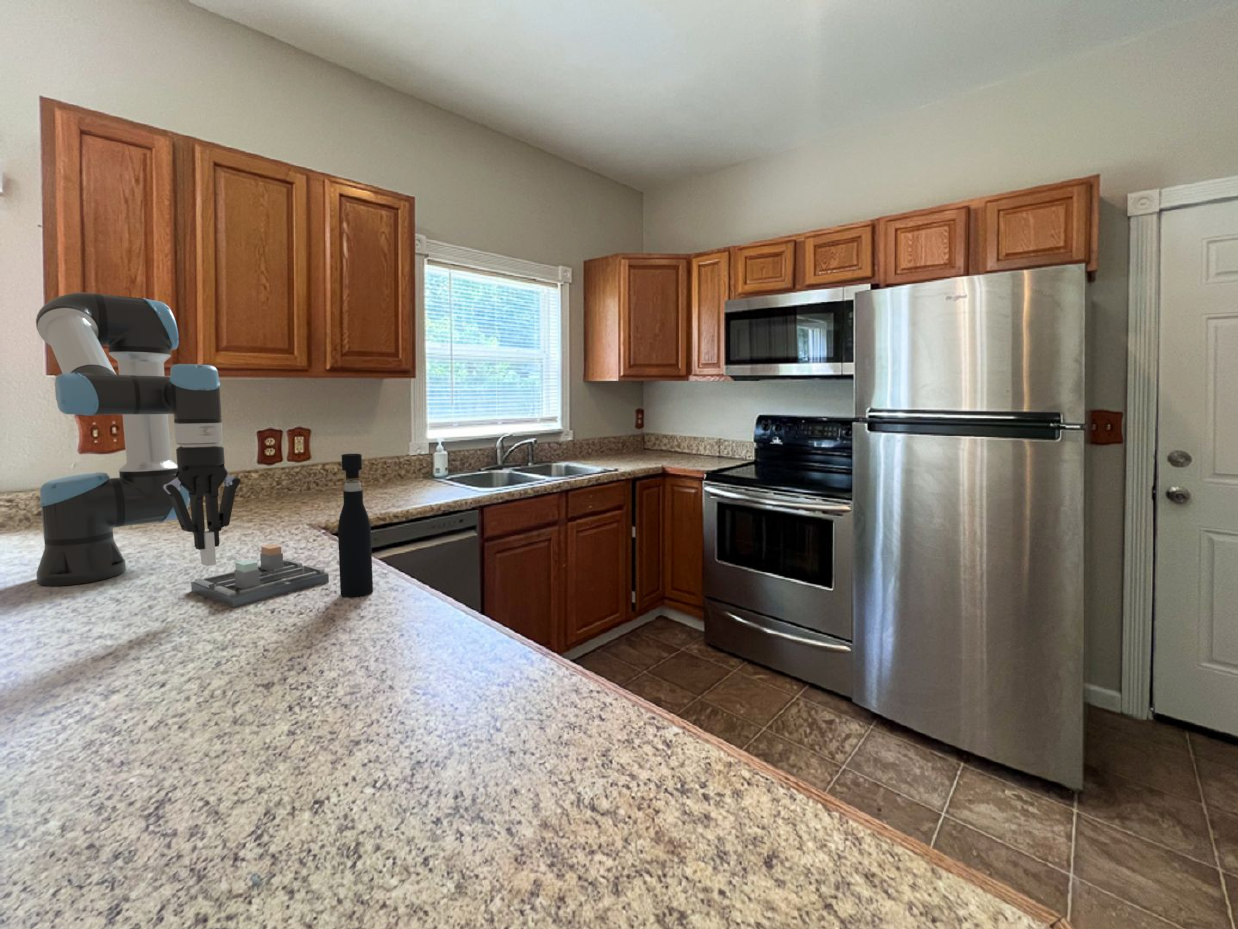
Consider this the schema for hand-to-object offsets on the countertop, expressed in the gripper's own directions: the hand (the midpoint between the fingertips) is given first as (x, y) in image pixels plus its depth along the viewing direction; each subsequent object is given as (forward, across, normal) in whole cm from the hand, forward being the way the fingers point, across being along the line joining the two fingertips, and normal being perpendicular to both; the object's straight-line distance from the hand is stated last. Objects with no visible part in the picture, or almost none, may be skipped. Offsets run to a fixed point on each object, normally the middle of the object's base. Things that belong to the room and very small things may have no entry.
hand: (208, 564), depth 115 cm
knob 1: (+7, +7, 0) cm, 10 cm away
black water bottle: (+9, +21, -16) cm, 28 cm away
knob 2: (+6, +17, +10) cm, 20 cm away
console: (+9, +12, +5) cm, 16 cm away
